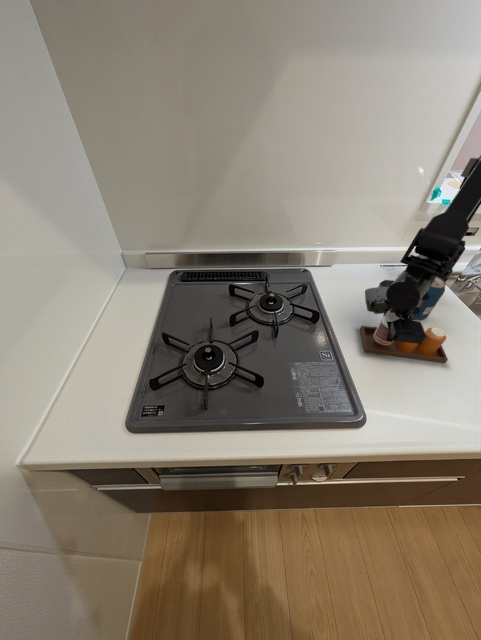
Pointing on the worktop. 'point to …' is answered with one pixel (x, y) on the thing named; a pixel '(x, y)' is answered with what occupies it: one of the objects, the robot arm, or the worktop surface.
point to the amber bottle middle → (406, 346)
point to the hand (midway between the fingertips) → (386, 333)
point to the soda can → (430, 299)
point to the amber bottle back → (432, 341)
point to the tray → (396, 348)
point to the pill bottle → (384, 329)
